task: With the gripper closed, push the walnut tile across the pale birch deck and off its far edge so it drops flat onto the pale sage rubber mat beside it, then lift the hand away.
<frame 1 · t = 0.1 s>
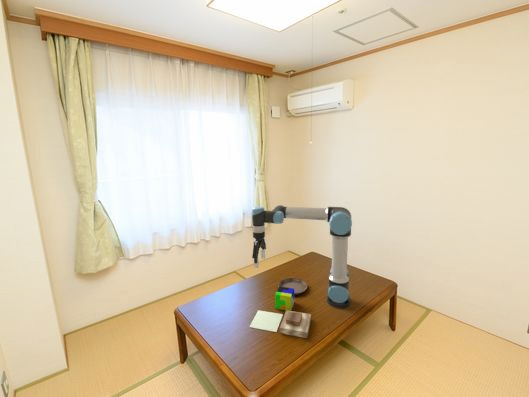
hand: (259, 262, 171), 28 cm above the table, fingers open, 13 cm apart
puzzle toy: (285, 305, 172), on the table
walnut tile: (294, 320, 152), point 3 cm above the table, touching birch deck
birch deck: (295, 326, 152), on the table
plant saucer: (292, 289, 192), on the table
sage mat: (266, 320, 157), on the table
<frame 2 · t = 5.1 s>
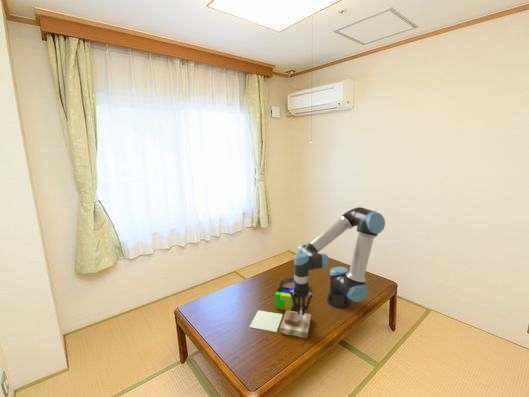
hand: (301, 319, 150), 5 cm above the table, fingers closed
walnut tile: (293, 320, 152), point 4 cm above the table, touching gripper
everything else where it was.
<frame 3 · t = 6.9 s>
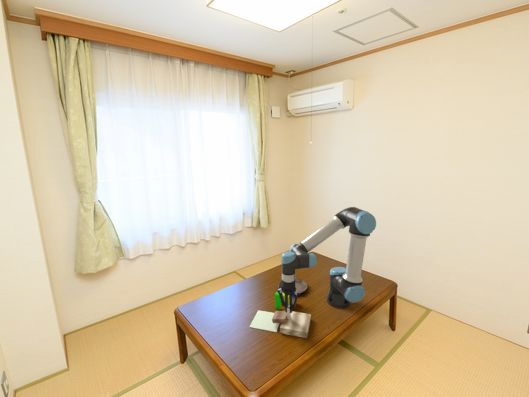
hand: (288, 317, 152), 5 cm above the table, fingers closed
walnut tile: (281, 318, 154), point 3 cm above the table, tilted 12°, touching birch deck
everything else where it was.
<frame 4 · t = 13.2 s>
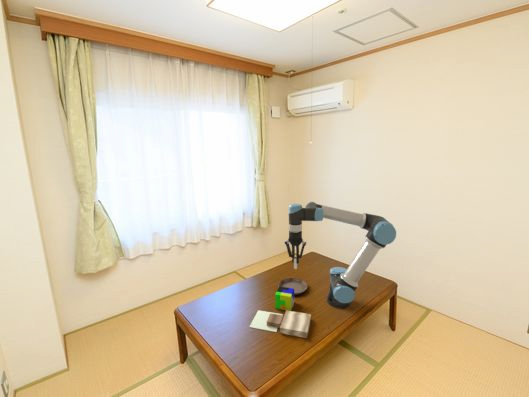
hand: (295, 268, 159), 29 cm above the table, fingers closed
walnut tile: (275, 322, 155), resting on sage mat
everything else where it was.
at the end: walnut tile inside the target area (5.3 cm from its centre), resting on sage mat; walnut tile tilted 0° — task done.
